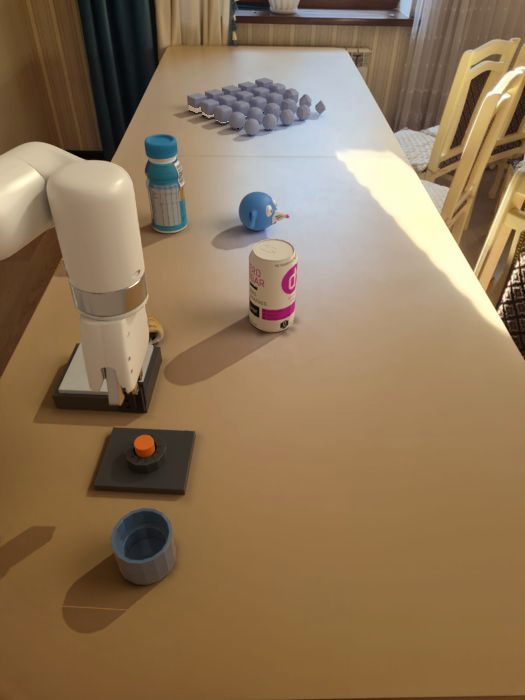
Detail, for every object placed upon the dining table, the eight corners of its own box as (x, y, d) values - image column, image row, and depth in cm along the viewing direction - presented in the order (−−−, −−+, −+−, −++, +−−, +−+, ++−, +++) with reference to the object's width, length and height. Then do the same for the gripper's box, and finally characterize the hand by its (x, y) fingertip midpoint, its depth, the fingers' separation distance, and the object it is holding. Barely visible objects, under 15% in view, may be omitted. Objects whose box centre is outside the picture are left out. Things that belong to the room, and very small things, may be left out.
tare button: (133, 457, 73) (131, 449, 71) (138, 442, 74) (136, 434, 73) (152, 458, 72) (151, 450, 71) (156, 443, 74) (155, 435, 73)
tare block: (95, 490, 72) (90, 477, 70) (114, 432, 79) (110, 418, 77) (184, 495, 71) (183, 481, 69) (195, 436, 79) (194, 422, 77)
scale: (56, 409, 82) (50, 391, 80) (80, 356, 91) (75, 339, 89) (147, 413, 82) (143, 395, 80) (162, 360, 91) (159, 342, 89)
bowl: (112, 585, 62) (103, 561, 59) (126, 531, 67) (119, 506, 64) (171, 588, 62) (166, 565, 58) (180, 534, 67) (176, 509, 63)
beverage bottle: (164, 238, 121) (153, 150, 108) (144, 224, 126) (132, 137, 113) (195, 227, 125) (188, 140, 112) (175, 213, 130) (166, 129, 117)
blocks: (264, 91, 204) (264, 77, 201) (329, 115, 185) (331, 100, 181) (187, 110, 187) (186, 95, 184) (250, 139, 168) (250, 122, 164)
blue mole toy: (281, 246, 119) (282, 211, 114) (231, 236, 122) (229, 202, 117) (296, 221, 128) (298, 187, 122) (249, 213, 131) (248, 180, 125)
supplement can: (301, 315, 101) (306, 244, 91) (280, 340, 95) (283, 267, 85) (264, 302, 104) (265, 232, 94) (241, 325, 98) (239, 253, 88)
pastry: (111, 327, 97) (107, 310, 95) (144, 313, 101) (142, 297, 98) (134, 355, 92) (131, 337, 89) (169, 340, 95) (167, 323, 92)
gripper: (93, 247, 61) (118, 365, 73) (48, 332, 50) (86, 454, 62) (159, 250, 61) (173, 368, 73) (129, 336, 50) (151, 458, 62)
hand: (133, 407), depth 67 cm, fingers closed
